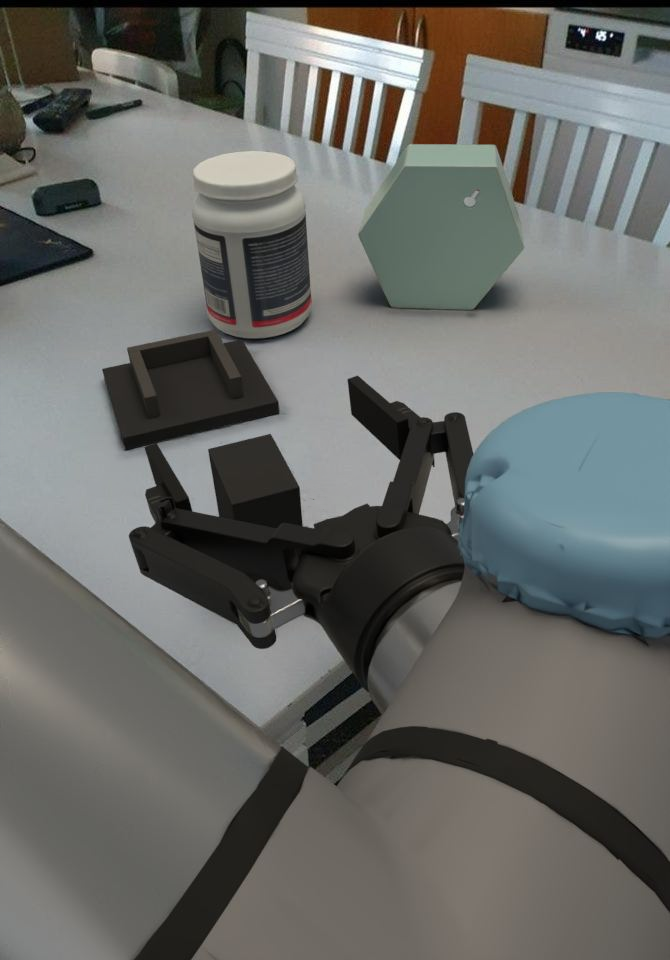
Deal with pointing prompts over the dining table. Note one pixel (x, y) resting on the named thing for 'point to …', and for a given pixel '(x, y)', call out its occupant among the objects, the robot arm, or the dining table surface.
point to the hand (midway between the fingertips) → (258, 427)
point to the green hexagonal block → (442, 227)
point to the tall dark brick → (255, 486)
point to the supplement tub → (252, 243)
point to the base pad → (186, 388)
